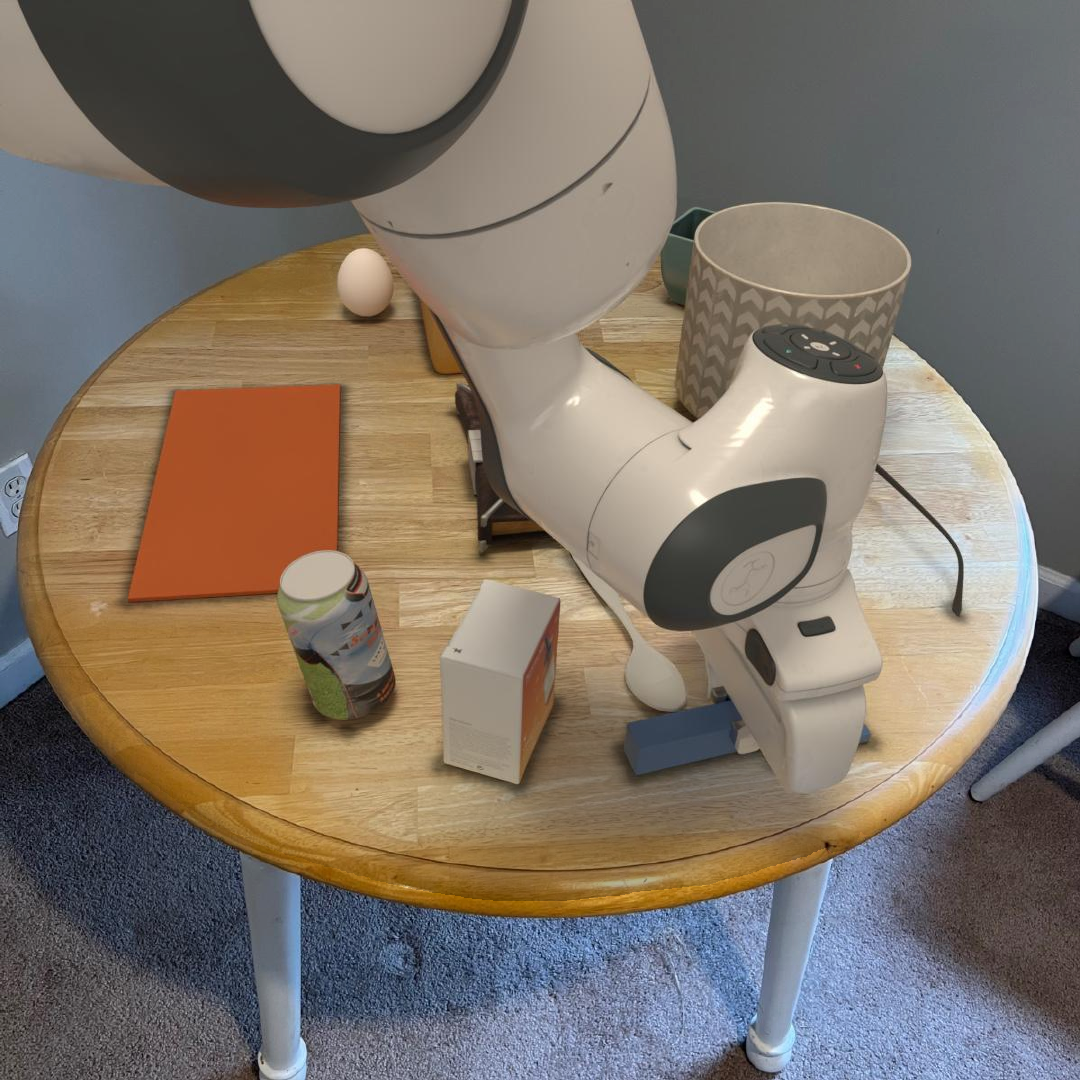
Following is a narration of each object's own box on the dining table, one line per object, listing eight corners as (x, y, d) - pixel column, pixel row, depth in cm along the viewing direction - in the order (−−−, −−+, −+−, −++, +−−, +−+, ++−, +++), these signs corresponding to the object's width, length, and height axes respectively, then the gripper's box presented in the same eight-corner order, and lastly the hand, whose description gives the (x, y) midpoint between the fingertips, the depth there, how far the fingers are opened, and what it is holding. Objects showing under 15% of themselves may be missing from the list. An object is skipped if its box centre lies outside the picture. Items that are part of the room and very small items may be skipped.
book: (455, 413, 107) (454, 368, 104) (623, 404, 109) (627, 360, 106) (478, 554, 90) (478, 505, 87) (676, 540, 93) (683, 492, 89)
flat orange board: (336, 589, 87) (336, 585, 87) (128, 602, 85) (127, 598, 85) (340, 387, 110) (340, 384, 109) (176, 393, 108) (175, 390, 108)
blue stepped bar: (644, 794, 73) (648, 768, 71) (615, 731, 77) (618, 704, 75) (869, 741, 77) (878, 715, 75) (830, 683, 81) (838, 657, 79)
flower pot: (752, 297, 128) (765, 224, 122) (720, 327, 122) (732, 252, 116) (684, 277, 131) (694, 205, 125) (650, 305, 125) (658, 231, 119)
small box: (519, 788, 73) (522, 680, 66) (441, 764, 74) (437, 656, 67) (556, 702, 79) (563, 595, 72) (483, 682, 80) (484, 575, 73)
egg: (335, 304, 123) (329, 240, 118) (389, 298, 124) (385, 235, 119) (345, 330, 118) (339, 265, 114) (400, 323, 120) (396, 259, 115)
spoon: (646, 730, 77) (648, 715, 76) (553, 547, 92) (554, 532, 91) (699, 718, 78) (703, 702, 77) (600, 539, 93) (601, 524, 92)
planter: (758, 497, 98) (796, 316, 87) (633, 397, 110) (651, 226, 99) (905, 437, 106) (958, 265, 95) (774, 350, 118) (806, 187, 107)
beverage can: (391, 732, 76) (381, 607, 68) (285, 728, 76) (263, 603, 68) (401, 666, 81) (392, 542, 73) (301, 662, 81) (282, 538, 73)
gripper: (655, 483, 73) (635, 630, 82) (798, 706, 58) (755, 856, 67) (740, 469, 75) (712, 615, 84) (900, 683, 60) (846, 832, 69)
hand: (732, 724), depth 75 cm, fingers closed on blue stepped bar, 2 cm apart
